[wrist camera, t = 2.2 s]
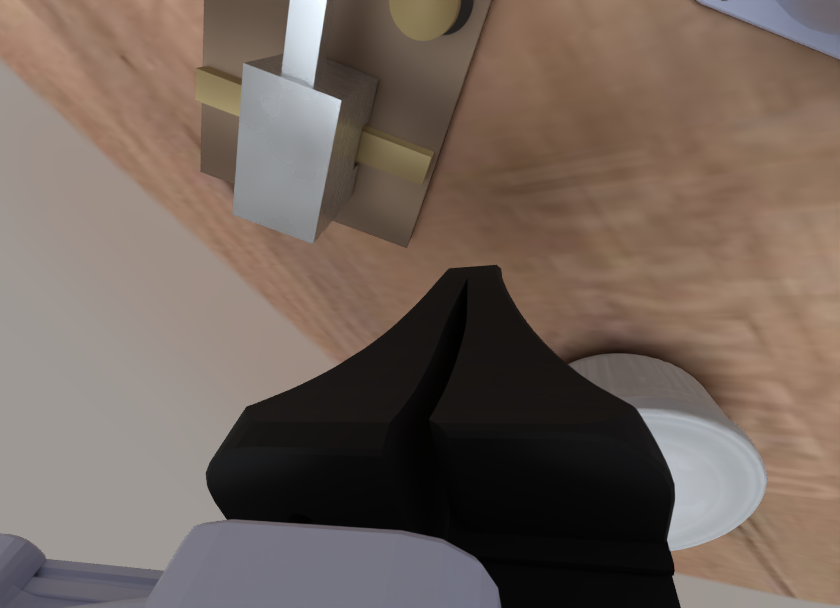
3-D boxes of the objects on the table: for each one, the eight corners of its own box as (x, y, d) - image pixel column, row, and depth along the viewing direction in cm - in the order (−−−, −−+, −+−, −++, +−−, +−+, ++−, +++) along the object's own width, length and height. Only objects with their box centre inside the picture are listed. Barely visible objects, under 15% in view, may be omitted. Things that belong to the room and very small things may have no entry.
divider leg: (350, 198, 20) (313, 244, 16) (285, 174, 20) (232, 214, 16) (405, -34, 15) (369, -45, 11) (319, -68, 15) (254, -91, 11)
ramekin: (485, 441, 29) (480, 518, 25) (557, 306, 23) (567, 378, 18) (651, 491, 29) (675, 577, 25) (770, 371, 23) (831, 459, 18)
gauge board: (410, 238, 22) (383, 300, 17) (212, 165, 21) (132, 208, 17) (529, -109, 14) (536, -160, 10) (227, -232, 14) (90, -344, 9)
